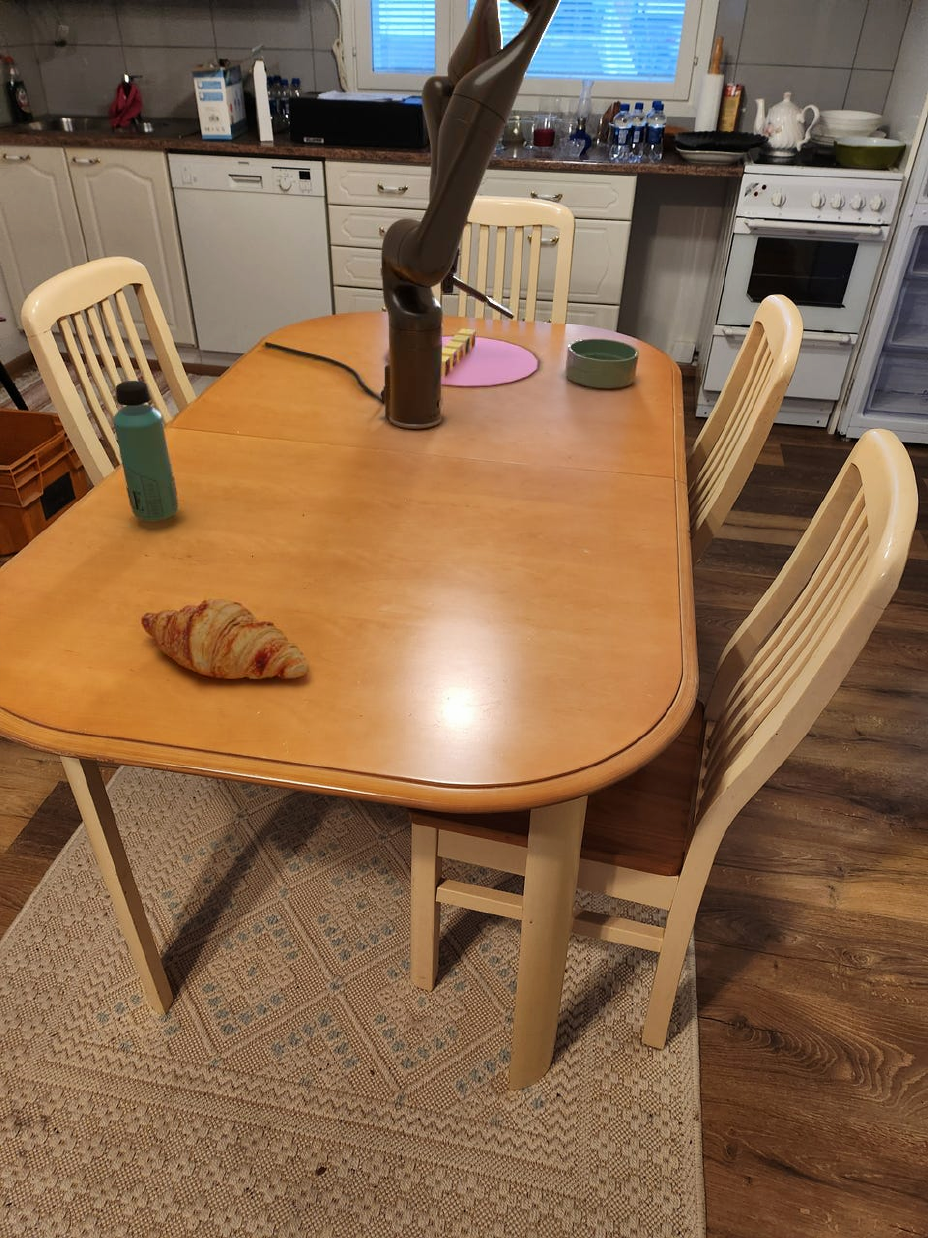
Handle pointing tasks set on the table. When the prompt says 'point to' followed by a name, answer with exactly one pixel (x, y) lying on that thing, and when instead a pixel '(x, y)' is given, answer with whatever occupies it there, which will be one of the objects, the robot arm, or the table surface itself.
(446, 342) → the platter
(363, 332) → the table surface
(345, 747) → the table surface
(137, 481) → the beverage bottle
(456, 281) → the spatula
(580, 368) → the bowl
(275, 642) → the croissant
